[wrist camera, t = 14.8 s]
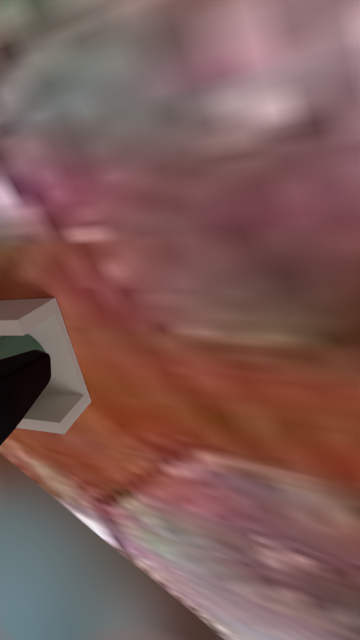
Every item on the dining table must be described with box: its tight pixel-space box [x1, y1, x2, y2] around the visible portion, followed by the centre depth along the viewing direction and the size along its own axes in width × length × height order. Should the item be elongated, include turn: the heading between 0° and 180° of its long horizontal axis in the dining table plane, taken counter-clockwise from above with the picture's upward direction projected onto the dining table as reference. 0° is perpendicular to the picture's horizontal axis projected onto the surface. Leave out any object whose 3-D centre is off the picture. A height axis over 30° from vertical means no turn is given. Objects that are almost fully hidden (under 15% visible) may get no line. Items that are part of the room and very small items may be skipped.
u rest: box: [0, 298, 91, 434], centre depth 27 cm, size 10×10×4 cm
